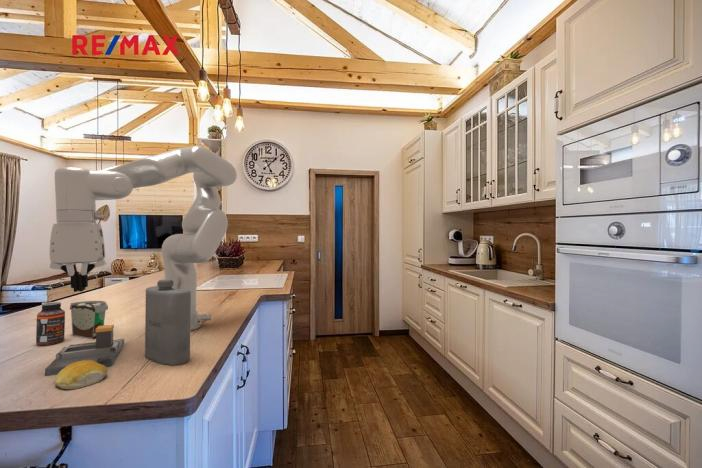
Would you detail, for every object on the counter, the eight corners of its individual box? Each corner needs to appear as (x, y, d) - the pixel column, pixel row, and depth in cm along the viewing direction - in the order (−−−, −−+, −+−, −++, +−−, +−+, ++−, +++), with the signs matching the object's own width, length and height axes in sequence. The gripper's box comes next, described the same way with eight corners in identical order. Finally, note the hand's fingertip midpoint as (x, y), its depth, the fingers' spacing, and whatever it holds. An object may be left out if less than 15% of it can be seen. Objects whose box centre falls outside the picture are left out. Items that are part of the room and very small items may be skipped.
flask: (137, 355, 82) (138, 278, 82) (160, 349, 87) (161, 276, 87) (171, 368, 74) (172, 283, 74) (194, 360, 79) (195, 280, 79)
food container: (117, 333, 100) (117, 302, 100) (96, 339, 94) (96, 306, 94) (91, 329, 104) (91, 299, 104) (69, 335, 98) (69, 302, 98)
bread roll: (95, 369, 74) (95, 352, 74) (112, 379, 69) (112, 360, 69) (48, 383, 67) (48, 364, 67) (63, 395, 62) (63, 374, 62)
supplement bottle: (46, 347, 87) (47, 306, 87) (30, 345, 89) (30, 305, 89) (70, 340, 93) (70, 301, 93) (54, 338, 94) (54, 300, 94)
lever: (113, 346, 84) (113, 324, 84) (111, 350, 81) (111, 327, 81) (98, 348, 82) (98, 325, 82) (95, 352, 79) (95, 329, 79)
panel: (124, 343, 90) (124, 334, 90) (111, 365, 75) (112, 354, 75) (70, 350, 85) (70, 340, 85) (44, 375, 70) (45, 363, 70)
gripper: (116, 218, 86) (118, 285, 86) (43, 218, 79) (46, 291, 79) (110, 217, 79) (113, 290, 80) (29, 217, 72) (33, 297, 73)
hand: (79, 290), depth 80 cm, fingers closed
